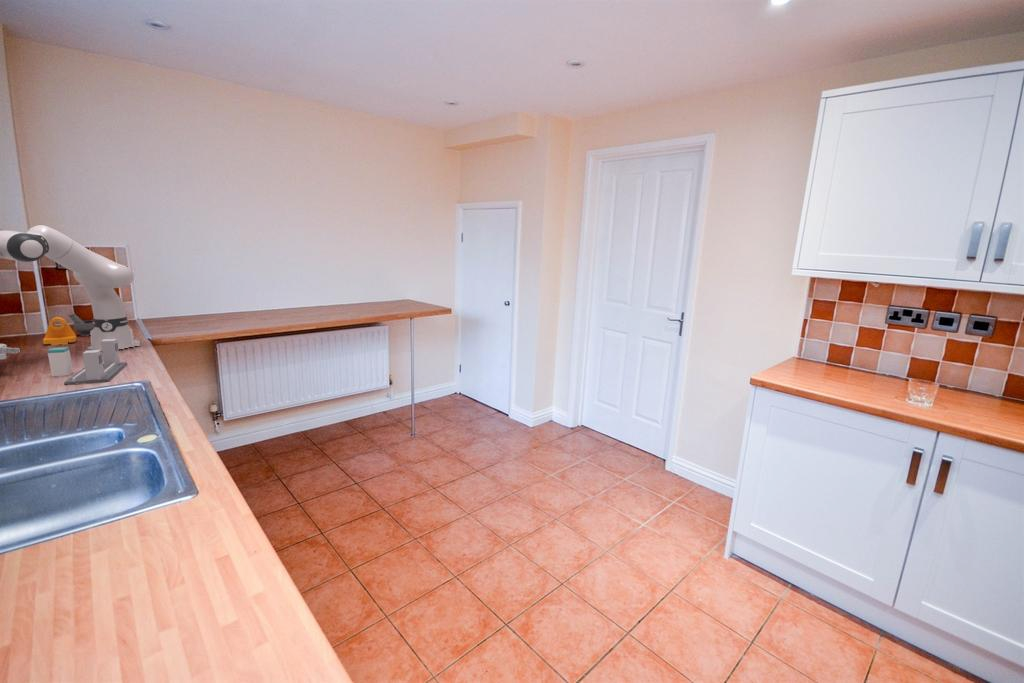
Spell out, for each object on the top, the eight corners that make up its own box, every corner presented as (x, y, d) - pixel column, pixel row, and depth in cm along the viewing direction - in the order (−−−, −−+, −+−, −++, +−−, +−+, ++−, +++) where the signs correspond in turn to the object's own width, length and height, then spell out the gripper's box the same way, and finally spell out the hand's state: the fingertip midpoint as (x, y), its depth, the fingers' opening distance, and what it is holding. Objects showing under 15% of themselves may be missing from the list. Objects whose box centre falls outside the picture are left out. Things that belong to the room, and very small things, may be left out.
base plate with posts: (88, 367, 183) (84, 339, 181) (127, 364, 189) (123, 338, 186) (64, 385, 162) (59, 354, 159) (108, 381, 167) (104, 352, 165)
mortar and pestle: (101, 332, 242) (97, 310, 240) (101, 336, 235) (98, 312, 233) (71, 335, 235) (68, 311, 232) (71, 338, 228) (67, 314, 225)
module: (57, 373, 174) (52, 347, 172) (73, 372, 176) (68, 346, 174) (52, 376, 170) (47, 350, 168) (68, 375, 172) (64, 349, 170)
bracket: (43, 346, 212) (38, 320, 210) (45, 342, 218) (41, 317, 215) (75, 343, 219) (71, 318, 216) (76, 340, 224) (73, 316, 222)
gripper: (-64, 353, 149) (-5, 351, 155) (-29, 341, 167) (24, 339, 173) (-61, 372, 150) (-1, 369, 157) (-25, 358, 168) (26, 355, 175)
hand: (12, 353), depth 165 cm, fingers open, 8 cm apart
